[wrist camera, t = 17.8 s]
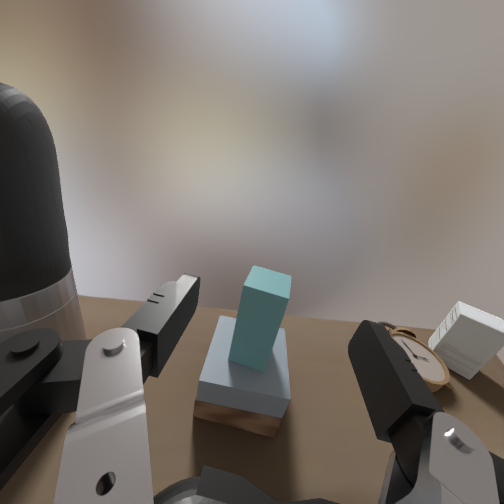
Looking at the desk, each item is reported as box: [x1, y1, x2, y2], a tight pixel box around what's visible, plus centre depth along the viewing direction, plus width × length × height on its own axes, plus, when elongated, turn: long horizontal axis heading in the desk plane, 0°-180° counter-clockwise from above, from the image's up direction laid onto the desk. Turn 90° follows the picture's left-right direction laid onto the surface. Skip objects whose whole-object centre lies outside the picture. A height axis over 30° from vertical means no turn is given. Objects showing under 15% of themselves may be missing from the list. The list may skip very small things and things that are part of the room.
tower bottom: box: [193, 397, 281, 438], centre depth 31 cm, size 11×11×4 cm
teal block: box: [228, 266, 291, 373], centre depth 26 cm, size 5×5×12 cm
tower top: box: [196, 315, 291, 418], centre depth 29 cm, size 11×11×4 cm
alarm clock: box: [378, 321, 453, 393], centre depth 43 cm, size 11×5×15 cm
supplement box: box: [428, 301, 504, 380], centre depth 43 cm, size 7×7×13 cm
